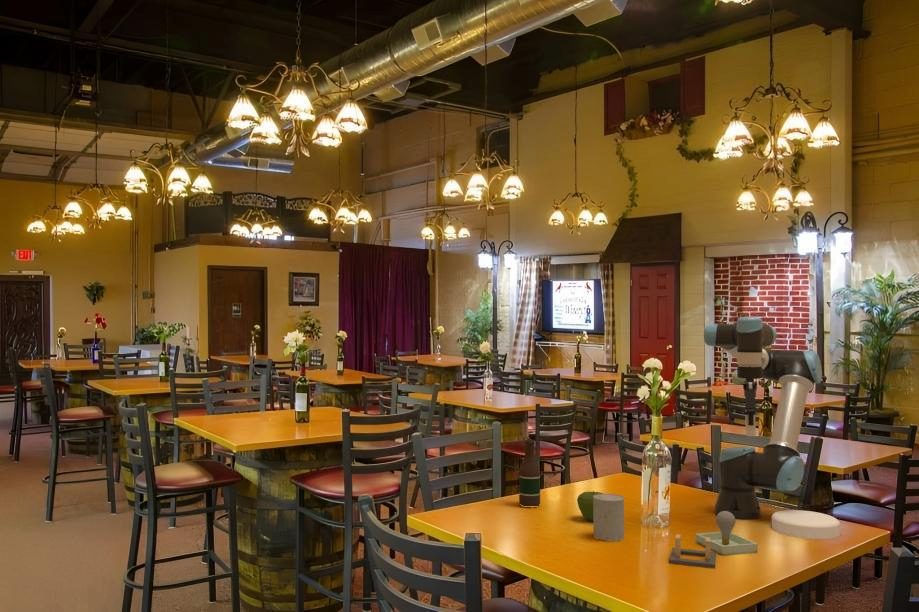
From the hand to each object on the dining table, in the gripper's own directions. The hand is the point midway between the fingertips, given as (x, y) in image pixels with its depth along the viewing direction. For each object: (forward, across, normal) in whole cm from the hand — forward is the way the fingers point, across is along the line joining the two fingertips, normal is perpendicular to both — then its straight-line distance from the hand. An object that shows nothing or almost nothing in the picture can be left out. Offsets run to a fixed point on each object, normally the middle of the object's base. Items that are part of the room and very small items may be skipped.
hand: (750, 433), depth 231 cm
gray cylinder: (+32, -19, +41) cm, 56 cm away
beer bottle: (+32, +11, +75) cm, 82 cm away
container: (+32, +12, -16) cm, 38 cm away
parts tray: (+32, -17, +7) cm, 37 cm away
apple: (+32, -1, +50) cm, 59 cm away
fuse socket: (+32, -33, +16) cm, 49 cm away
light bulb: (+31, -17, +7) cm, 37 cm away
